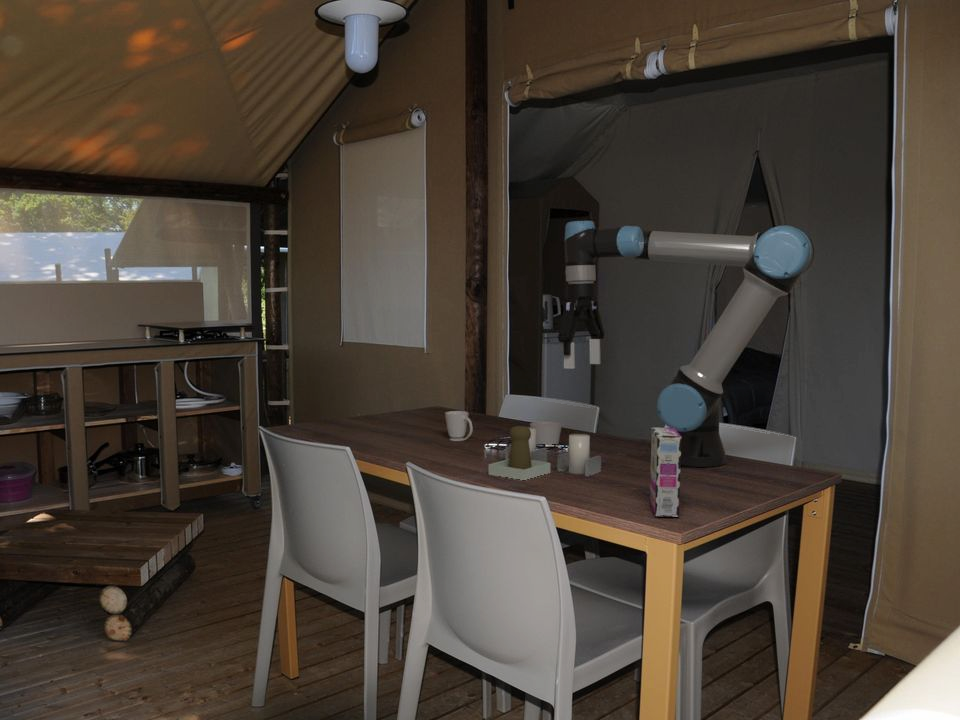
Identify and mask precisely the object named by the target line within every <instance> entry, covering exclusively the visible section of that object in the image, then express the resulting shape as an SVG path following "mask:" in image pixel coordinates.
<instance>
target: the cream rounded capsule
mask: <svg viewBox="0 0 960 720" xmlns="http://www.w3.org/2000/svg"><path fill="white" fill-rule="evenodd" d="M527 427H528V428H529V429H530V431H531V437H530V439H529V448H530V456H531V451H534V450H537V447H536V428H533V427H530V426H527Z"/></svg>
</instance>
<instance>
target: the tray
mask: <svg viewBox="0 0 960 720" xmlns="http://www.w3.org/2000/svg"><path fill="white" fill-rule="evenodd" d="M508 465H509V459H507V460H505V459H504V460H501V461H495V462H493V463H489V464H488V475H489V476H493V477H494V476H495V477H499V476H501V477H500V478H505V477H508V478H507V479H511V478H513V480H516V479H520V480H519V481H522V480H526V481H528V480H527V479H529V480H531V479H530V478H533V479H535V478H534V477H536V478H538V477H537V476H539V477H541V476H540V475H542V476H545V475H544V474H546V475H549V474H550V473H551V462H548V461H547V462H541V461H535V460H531V465H532V467H531V468H528V469H525V470H523V469H517V468H511V467H508ZM548 473H549V474H548Z"/></svg>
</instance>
